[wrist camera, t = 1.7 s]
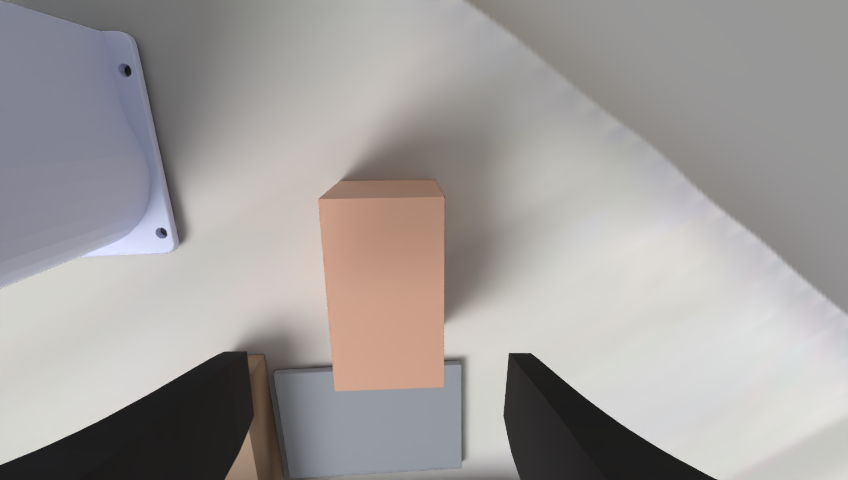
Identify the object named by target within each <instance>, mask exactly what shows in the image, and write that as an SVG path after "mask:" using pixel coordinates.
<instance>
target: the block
mask: <svg viewBox="0 0 848 480" xmlns="http://www.w3.org/2000/svg"><path fill="white" fill-rule="evenodd" d="M318 202H319V214H320V226H321V237H322V249H323V260H324V272H325V283H326V295H327V306H328V318H329V330H330V341H331V353H332V364H333V376H334V387H335V391H359V390H385V389H411V388H436V387H444V218H445V197H444V195H443V193H442V191H441V190H440V188H439V186H438V184H437V182H436V181H435V179H419V180H359V181H339V182H338V183H337V184H336V185H334V186H333V187H332V188H331V189H330V190H329V191H327V192H326V193H325V194H324V195H323V196H321V197H320V198H319V199H318Z"/></svg>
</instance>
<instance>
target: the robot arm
mask: <svg viewBox="0 0 848 480" xmlns="http://www.w3.org/2000/svg"><path fill="white" fill-rule="evenodd" d="M126 66H129V67H130V68H131V75H130V76H129V77H128V76H127V75H126V73H125V68H126ZM161 228H164V229H165V230H166V231H167V236H164V235H163V234H162V233H161ZM178 245H179V240H178V235H177V230H176V226H175V221H174V216H173V212H172V207H171V202H170V198H169V193H168V188H167V183H166V179H165V174H164V169H163V165H162V160H161V155H160V151H159V146H158V141H157V137H156V132H155V127H154V123H153V118H152V113H151V109H150V104H149V99H148V94H147V90H146V85H145V80H144V76H143V71H142V66H141V62H140V57H139V52H138V48H137V44H136V42H135V40H134V39H133V37H132V36H130V35H129V34H127V33H124V32H121V31H99V30H96V29H93V28H89V27H86V26H83V25H80V24H77V23H73V22H70V21H67V20H64V19H60V18H57V17H54V16H51V15H48V14H44V13H41V12H38V11H35V10H31V9H28V8H25V7H22V6H19V5H15V4H12V3H9V2H6V1H2V0H0V288H3V287H5V286H8V285H10V284H13V283H15V282H18V281H20V280H23V279H25V278H28V277H30V276H33V275H35V274H38V273H40V272H43V271H45V270H47V269H50V268H52V267H55V266H57V265H60V264H62V263H65V262H67V261H70V260H72V259H75V258H77V257H89V256H113V255H137V254H161V253H170V252H172V251H174V250H175V249H177V247H178ZM253 417H254V409H253V400H252V391H251V383H250V374H249V366H248V357H247V352H223V353H221V354H218V355H216V356H215V357H213V358H211V359H209V360H207V361H205V362H204V363H202V364H200V365H198V366H197V367H195V368H193V369H192V370H190V371H188V372H186V373H185V374H183V375H181V376H180V377H178V378H176V379H174V380H173V381H171V382H169V383H168V384H166V385H164V386H162V387H161V388H159V389H157V390H156V391H154V392H152V393H150V394H149V395H147V396H145V397H143V398H141V399H139V400H137V401H136V402H134V403H132V404H130V405H128V406H126V407H125V408H123V409H121V410H119V411H117V412H115V413H114V414H112V415H110V416H108V417H106V418H104V419H102V420H100V421H98V422H96V423H94V424H92V425H90V426H88V427H86V428H84V429H82V430H80V431H78V432H76V433H74V434H72V435H69V436H67V437H65V438H63V439H61V440H59V441H56V442H54V443H52V444H50V445H48V446H45V447H43V448H41V449H39V450H36V451H34V452H31V453H29V454H26V455H24V456H22V457H19V458H17V459H14V460H12V461H9V462H7V463H4V464H2V465H0V480H225V478H226V476H227V474H228V473H229V471H230V469H231V467H232V465H233V463H234V462H235V460H236V458H237V456H238V454H239V452H240V450H241V448H242V445H243V443H244V440H245V438H246V436H247V433H248V430H249V428H250V425H251V423H252V420H253ZM504 420H505V425H506V430H507V435H508V440H509V444H510V449H511V453H512V456H513V459H514V462H515V465H516V468H517V471H518V474H519V477H520V480H717V479H715V478H712V477H710V476H709V475H707V474H705V473H703V472H701V471H699V470H697V469H695V468H694V467H692V466H690V465H688V464H686V463H684V462H682V461H680V460H679V459H677V458H675V457H673V456H671V455H670V454H668V453H666V452H664V451H663V450H661V449H659V448H658V447H656V446H654V445H653V444H651V443H650V442H648V441H646V440H645V439H643V438H642V437H640V436H638V435H637V434H635V433H634V432H632V431H630V430H629V429H627V428H626V427H624V426H623V425H621V424H620V423H619V422H617V421H616V420H614V419H613V418H612V417H610V416H609V415H607V414H606V413H605V412H603V411H602V410H600V409H599V408H598V407H596V406H595V405H594V404H592V403H591V402H590V401H589V400H587V399H586V398H585V397H583V396H582V395H581V394H580V393H578V392H577V391H576V390H575V389H573V388H572V387H571V386H570V385H569V384H567V383H566V382H565V381H564V380H562V379H561V378H560V377H559V376H558V375H557V374H555V373H554V372H553V371H552V370H551V369H549V368H548V367H547V366H546V365H545V364H544V363H542V362H541V361H540V360H539V359H538V358H536V357H535V356H534V355H532V354H531V353H509V359H508V371H507V382H506V394H505V405H504Z"/></svg>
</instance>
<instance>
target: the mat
mask: <svg viewBox="0 0 848 480" xmlns="http://www.w3.org/2000/svg"><path fill="white" fill-rule="evenodd" d="M274 381H275V387H276V394H277V400H278V406H279V412H280V419H281V425H282V431H283V438H284V444H285V450H286V457H287V463H288V469H289V475H290V479H294V478H310V477H326V476H342V475H359V474H375V473H391V472H407V471H423V470H439V469H455V468H462V453H461V362H460V360H458V361H444V387H436V388H411V389H385V390H359V391H335V387H334V376H333V367H325V368H306V369H287V370H276V371H275V373H274Z"/></svg>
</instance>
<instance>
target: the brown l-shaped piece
mask: <svg viewBox="0 0 848 480" xmlns="http://www.w3.org/2000/svg"><path fill="white" fill-rule="evenodd" d="M247 357H248V366H249V374H250V383H251V391H252V400H253V409H254V417H253V420H252V423H251V425H250V428H249V430H248V433H247V436H246V438H245V440H244V443H243V445H242V448H241V450H240V452H239V454H238V456H237V458H236V460H235V462H234V463H233V465H232V467H231V469H230V471H229V473H228V474H227V476H226V478H225V480H284V474H283V468H282V462H281V456H280V450H279V444H278V438H277V432H276V426H275V419H274V413H273V407H272V401H271V395H270V389H269V383H268V377H267V371H266V365H265V358H264V354H260V355H247Z"/></svg>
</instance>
